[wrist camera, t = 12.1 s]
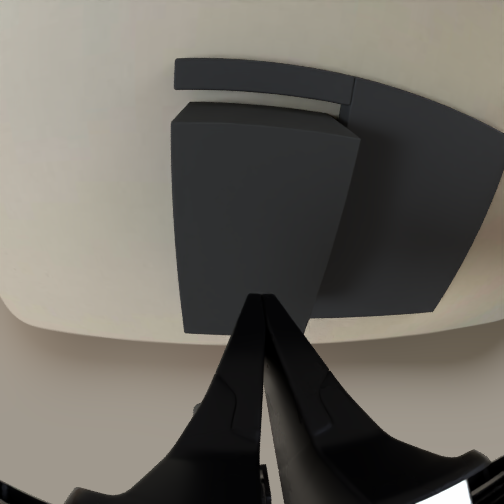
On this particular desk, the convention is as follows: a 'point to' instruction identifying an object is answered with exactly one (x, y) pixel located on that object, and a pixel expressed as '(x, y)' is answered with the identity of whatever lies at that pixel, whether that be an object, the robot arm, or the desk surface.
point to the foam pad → (255, 207)
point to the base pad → (385, 183)
